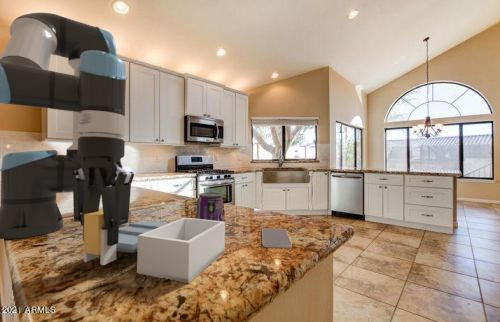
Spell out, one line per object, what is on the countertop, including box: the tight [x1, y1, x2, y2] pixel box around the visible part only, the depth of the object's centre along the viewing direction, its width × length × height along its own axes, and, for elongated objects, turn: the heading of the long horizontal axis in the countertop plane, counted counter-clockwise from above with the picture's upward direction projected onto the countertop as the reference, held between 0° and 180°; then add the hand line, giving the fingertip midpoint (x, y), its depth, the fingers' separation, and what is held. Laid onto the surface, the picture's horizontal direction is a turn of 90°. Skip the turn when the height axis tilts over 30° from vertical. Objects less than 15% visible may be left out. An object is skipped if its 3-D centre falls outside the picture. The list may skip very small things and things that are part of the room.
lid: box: [83, 210, 170, 255], centre depth 52 cm, size 12×20×8 cm, turn 162°
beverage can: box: [196, 192, 224, 222], centre depth 64 cm, size 7×7×12 cm
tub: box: [136, 217, 226, 284], centre depth 49 cm, size 11×15×7 cm
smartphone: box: [261, 227, 293, 249], centre depth 65 cm, size 7×1×15 cm
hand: (100, 260), depth 44 cm, fingers closed on lid, 3 cm apart
